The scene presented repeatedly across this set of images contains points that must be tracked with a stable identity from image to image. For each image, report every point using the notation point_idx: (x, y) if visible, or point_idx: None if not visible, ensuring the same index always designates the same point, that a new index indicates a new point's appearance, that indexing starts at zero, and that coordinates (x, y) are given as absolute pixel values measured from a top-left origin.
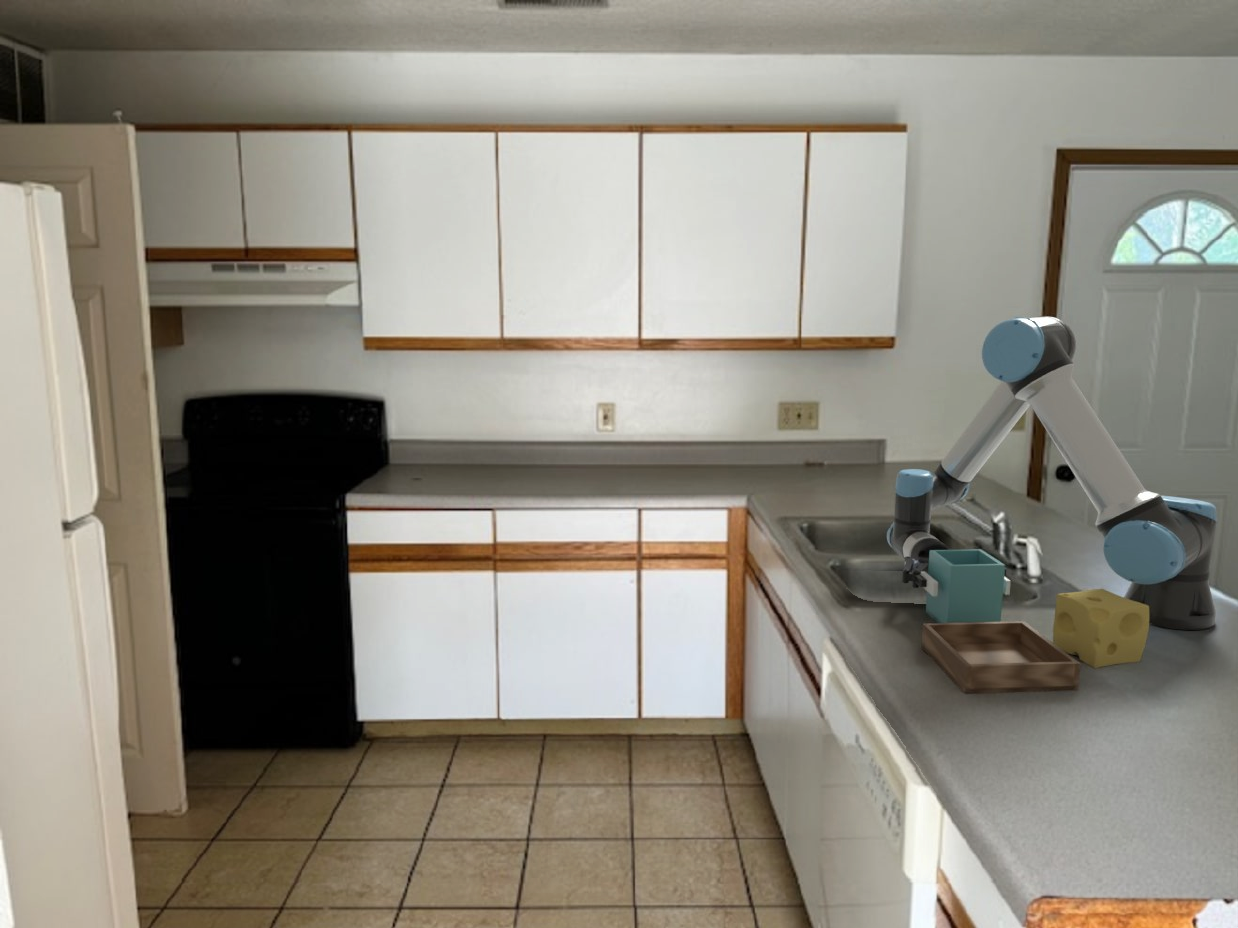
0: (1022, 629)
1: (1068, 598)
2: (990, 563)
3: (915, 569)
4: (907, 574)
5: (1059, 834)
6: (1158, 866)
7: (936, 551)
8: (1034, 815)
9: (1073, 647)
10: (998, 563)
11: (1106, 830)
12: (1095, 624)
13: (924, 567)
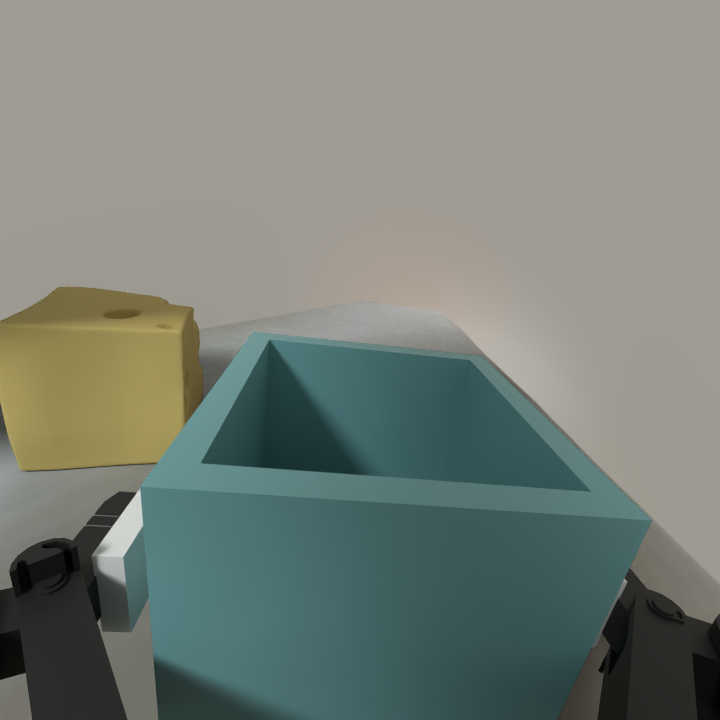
0: None
1: (186, 320)
2: (252, 394)
3: (687, 647)
4: (709, 625)
5: (420, 318)
6: (380, 307)
7: (581, 492)
8: (428, 323)
9: (192, 410)
10: (267, 341)
11: (392, 315)
12: (196, 327)
13: (637, 700)
